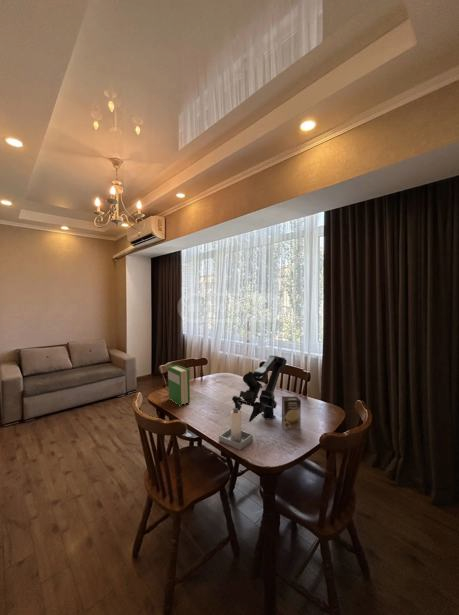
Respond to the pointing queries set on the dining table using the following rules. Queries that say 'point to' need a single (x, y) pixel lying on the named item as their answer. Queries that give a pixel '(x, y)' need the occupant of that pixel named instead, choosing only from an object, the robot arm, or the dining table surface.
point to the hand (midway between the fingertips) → (242, 419)
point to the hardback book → (178, 384)
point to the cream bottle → (235, 425)
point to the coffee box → (291, 412)
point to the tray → (227, 440)
